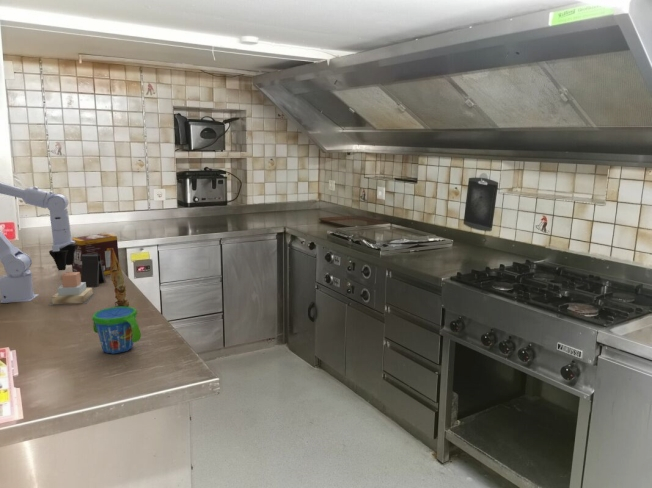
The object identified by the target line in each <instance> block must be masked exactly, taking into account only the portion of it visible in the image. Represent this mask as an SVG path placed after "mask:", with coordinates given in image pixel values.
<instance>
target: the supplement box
mask: <svg viewBox="0 0 652 488" xmlns="http://www.w3.org/2000/svg"><path fill="white" fill-rule="evenodd" d="M72 238H73V241H75V243H74V244H77V247H76V249H75V253H74V260H73V265H71V269H72V272H80V278H81V272H82V259H81V257H82V255H83V254H100V256H101V264H102V268H103V272H104V276H107V275H110V263H111V259H110V255H111V248H113V250H114V252H115V255H116V258H117V260H118V262H119V263H120V258H119V256H120V255H119V246H118V245H119V244H118V236H117V235H114V234H109V233H104V232H103V233H98V234H90V235H84V236H77V237H72Z"/></svg>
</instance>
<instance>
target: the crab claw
mask: <svg viewBox="0 0 652 488" xmlns="http://www.w3.org/2000/svg"><path fill="white" fill-rule="evenodd" d="M110 259H111V263H110V274H109V275H110V279H111V282H112V284H113V286H114V287H113V288H114V293H115V297H114V298H115V299H116V300H117V301H115V302H114V307H117V306H118V307H130V302H129V300H128V299H126V297H127V286H126V285H124V284H125V280H124V279H125V277H124V274H123V271H122V268H121V265H120V261H119V262H118V260H117V258H116V255H115V252H114V250H113V248H111V255H110Z"/></svg>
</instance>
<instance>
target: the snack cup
mask: <svg viewBox="0 0 652 488" xmlns="http://www.w3.org/2000/svg"><path fill="white" fill-rule="evenodd" d="M137 314H138V311H137V309H136V308H135V307H132V306H128V307H126V306H113V307H108V308H103V309H100V310H98V311H96V312H94V313H93V315H92V318H91V320H92V322H93V325H92V326H93V327H92V329H93V332H94V333H95V334H98V338H99V342H100V345H101V349H102V352H104V353H107V354H113V355H114V354H121V353H125V352H128V351H130V350H131V349H132V347H134V343H137V342H138V341H140V340H141V338H142V333H141V330H140V327H139V324H138V321H137V319H136V318H137Z"/></svg>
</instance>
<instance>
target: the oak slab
mask: <svg viewBox="0 0 652 488" xmlns="http://www.w3.org/2000/svg"><path fill="white" fill-rule="evenodd" d="M93 294H94V293H93V287H86V290H85V291H84V292H82V293H81V294H80V295H60V296H58V292H56V293H55V294H54V295H52V296H51V303H52V304H71V303H84V302H85V301H87V300H88V299H89V298H90V297H91V296H92V295H93ZM71 305H72V304H71Z"/></svg>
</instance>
